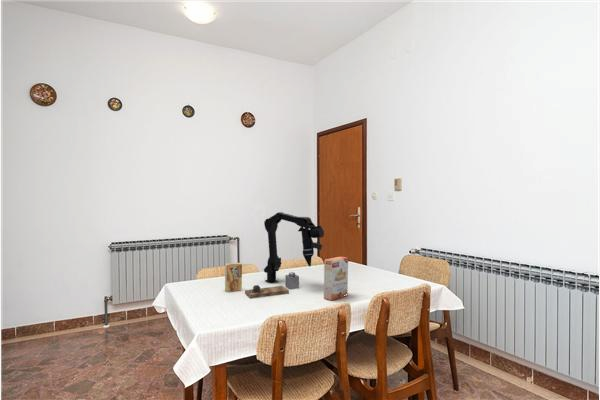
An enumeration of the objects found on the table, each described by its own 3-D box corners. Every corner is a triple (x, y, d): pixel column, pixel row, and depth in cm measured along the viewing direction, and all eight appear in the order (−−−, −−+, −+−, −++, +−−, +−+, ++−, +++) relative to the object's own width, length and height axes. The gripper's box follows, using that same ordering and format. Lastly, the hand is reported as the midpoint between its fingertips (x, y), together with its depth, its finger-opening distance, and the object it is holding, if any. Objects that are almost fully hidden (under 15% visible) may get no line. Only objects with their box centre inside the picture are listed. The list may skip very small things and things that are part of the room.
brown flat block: (250, 298, 188) (250, 289, 187) (244, 293, 197) (244, 284, 196) (288, 293, 197) (288, 284, 197) (281, 289, 206) (281, 280, 206)
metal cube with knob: (285, 286, 211) (285, 272, 211) (294, 285, 214) (294, 271, 214) (289, 289, 206) (289, 274, 206) (298, 288, 209) (298, 273, 209)
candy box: (239, 288, 207) (240, 262, 206) (242, 290, 203) (242, 263, 203) (224, 290, 203) (224, 263, 203) (226, 292, 199) (226, 264, 199)
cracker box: (332, 301, 183) (332, 260, 183) (323, 298, 187) (323, 259, 187) (348, 295, 194) (348, 257, 193) (339, 293, 198) (339, 255, 197)
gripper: (321, 238, 200) (324, 266, 199) (320, 236, 218) (323, 261, 217) (301, 240, 200) (304, 268, 199) (302, 238, 219) (304, 263, 218)
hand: (309, 265), depth 208 cm, fingers open, 9 cm apart
